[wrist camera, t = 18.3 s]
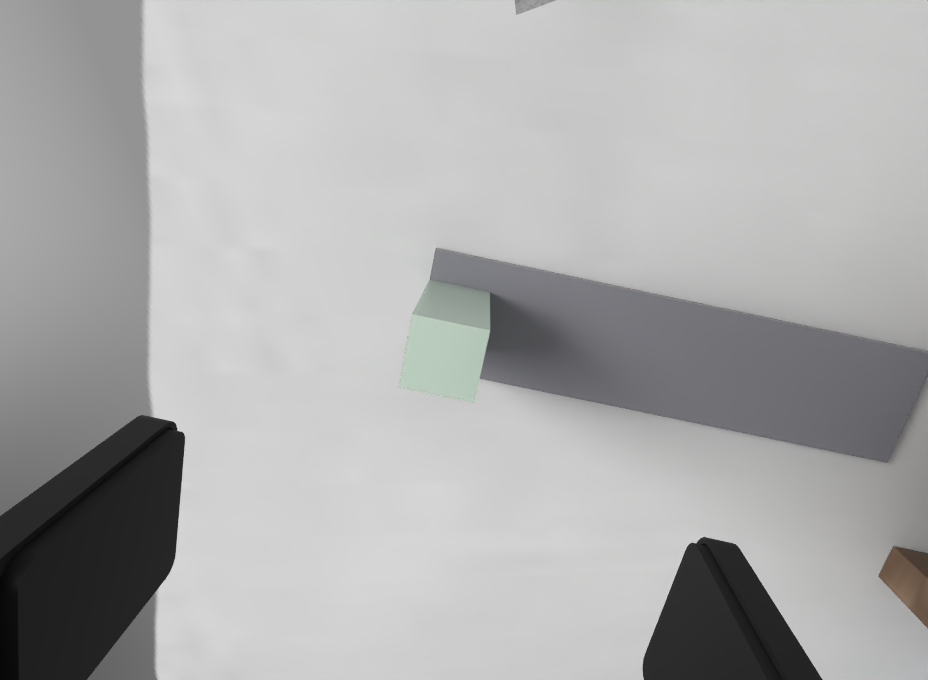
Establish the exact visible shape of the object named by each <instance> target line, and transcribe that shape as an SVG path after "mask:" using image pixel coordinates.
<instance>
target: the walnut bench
mask: <svg viewBox="0 0 928 680" xmlns="http://www.w3.org/2000/svg"><path fill="white" fill-rule="evenodd" d="M879 577H880V578H881V579H882V580H883V582H884V583H885V584H886V585H887V586H888V587H889V588H890V589H891V590H892V591H893V592H894V593H895V594H896V595H897V596H898V597H899V598H900V599H901V601H902V602H903V603H904V604H905V605H906V606H907V607H908V608H909V609H910V610H911V611H912V612H913V613H914V614H915V615H916V616H917V617H918V619H919V620H920V621H921V622H922V623H923V624H924V625H925V626H926V627H927V628H928V554H926V553H922V552H917V551H913V550H908V549H903V548H899V547H894V546H893V548H892V550H891V552H890V554H889V556H888V558H887V560H886V562H885V564H884V566H883V568H882V570H881V572H880V574H879Z"/></svg>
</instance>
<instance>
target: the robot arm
mask: <svg viewBox="0 0 928 680" xmlns="http://www.w3.org/2000/svg"><path fill="white" fill-rule="evenodd" d="M184 445H185V436H184V433H183V432H179V431H177V427H176V424H175V423H174V422H172V421H167V420H163V419H158V418H153V417H149V416H143V415H141V416H139V417H136V418H135V419H134V420H133V421H131V422H130V423H128V424H127V425H125V426H124V427H123V428H122V429H120V430H119V431H117V432H116V433H114V434H113V435H112V436H110V437H109V438H108V439H106V440H105V441H103V442H102V443H101V444H99V445H98V446H96V447H95V448H94V449H92V450H91V451H90V452H88V453H87V454H85V455H84V456H83V457H81V458H80V459H79V460H77V461H76V462H74V463H73V464H72V465H70V466H69V467H68V468H66V469H65V470H63V471H62V472H61V473H59V474H58V475H56V476H55V477H54V478H52V479H51V480H50V481H48V482H47V483H46V484H44V485H43V486H41V487H40V488H39V489H37V490H36V491H34V492H33V493H32V494H30V495H29V496H28V497H26V498H25V499H23V500H22V501H21V502H19V503H18V504H16V505H15V506H14V507H12V508H11V509H10V510H8V511H7V512H5V513H4V514H3V515H1V516H0V680H87V679H88V677H89V676H90V675H91V674H92V672H93V671H94V670H95V668H96V667H97V666H98V665H99V663H100V662H101V661H102V660H103V658H104V657H105V656H106V654H107V653H108V652H109V651H110V649H111V648H112V647H113V645H114V644H115V643H116V642H117V640H118V639H119V638H120V636H121V635H122V634H123V633H124V631H125V630H126V629H127V627H128V626H129V625H130V624H131V622H132V621H133V620H134V619H135V617H136V616H137V615H138V613H139V612H140V611H141V609H142V608H143V607H144V606H145V604H146V603H147V602H148V601H149V599H150V598H151V597H152V595H153V594H154V593H155V592H156V590H157V589H158V588H159V586H160V585H161V584H162V583H163V581H164V580H165V579H166V577H167V576H168V574H169V572H170V570H171V568H172V566H173V563H174V559H175V553H176V541H177V529H178V517H179V505H180V493H181V481H182V469H183V457H184ZM643 677H644V680H822V678H821V677H820V675H819V674H818V672H817V670H816V669H815V667H814V666H813V664H812V662H811V661H810V659H809V658H808V656H807V655H806V653H805V651H804V650H803V648H802V647H801V645H800V644H799V642H798V640H797V639H796V637H795V636H794V634H793V632H792V631H791V629H790V628H789V626H788V625H787V623H786V621H785V620H784V618H783V617H782V615H781V613H780V612H779V610H778V609H777V607H776V606H775V604H774V602H773V601H772V599H771V598H770V596H769V594H768V593H767V591H766V590H765V588H764V587H763V585H762V583H761V582H760V580H759V579H758V577H757V575H756V574H755V572H754V571H753V569H752V568H751V566H750V564H749V563H748V561H747V560H746V558H745V556H744V555H743V553H742V552H741V550H740V549H739V547H738V546H737V545H736V544H733V543H729V542H724V541H719V540H715V539H710V538H706V537H703V538H701V539H700V540H699V541H698V542H697V544H696V543H691V544H689V545H688V547H687V549H686V551H685V553H684V556H683V558H682V561H681V563H680V566H679V569H678V571H677V574H676V576H675V579H674V581H673V584H672V587H671V589H670V592H669V594H668V597H667V599H666V602H665V605H664V607H663V610H662V612H661V615H660V617H659V620H658V622H657V625H656V628H655V630H654V633H653V635H652V638H651V640H650V643H649V646H648V648H647V651H646V653H645V656H644V661H643Z"/></svg>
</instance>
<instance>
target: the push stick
mask: <svg viewBox="0 0 928 680" xmlns="http://www.w3.org/2000/svg"><path fill="white" fill-rule="evenodd" d="M927 374H928V351H924V350H919V349H915V348H910V347H905V346H900V345H896V344H891V343H886V342H881V341H877V340H872V339H867V338H862V337H858V336H853V335H848V334H843V333H839V332H834V331H829V330H824V329H819V328H815V327H810V326H805V325H800V324H796V323H791V322H786V321H781V320H777V319H772V318H767V317H762V316H758V315H753V314H748V313H743V312H739V311H734V310H729V309H724V308H720V307H715V306H710V305H705V304H701V303H696V302H691V301H686V300H682V299H677V298H672V297H667V296H662V295H658V294H653V293H648V292H643V291H639V290H634V289H629V288H624V287H620V286H615V285H610V284H605V283H601V282H596V281H591V280H586V279H582V278H577V277H572V276H567V275H563V274H558V273H553V272H548V271H544V270H539V269H534V268H529V267H524V266H520V265H515V264H510V263H505V262H501V261H496V260H491V259H486V258H482V257H477V256H472V255H467V254H463V253H458V252H453V251H448V250H444V249H439V248H436V249H435V255H434V260H433V265H432V271H431V276H430V280H429V282H428V284H427V286H426V288H425V290H424V292H423V294H422V296H421V298H420V300H419V302H418V304H417V306H416V308H415V309H414V311H413V313H412V317H411V323H410V328H409V334H408V339H407V344H406V350H405V355H404V361H403V366H402V372H401V377H400V382H399V388H404V389H409V390H414V391H419V392H423V393H428V394H433V395H438V396H443V397H448V398H453V399H458V400H462V401H467V402H472V403H474V400H475V396H476V392H477V387H478V383H479V378H480V379H485V380H489V381H494V382H499V383H504V384H509V385H514V386H519V387H523V388H528V389H533V390H538V391H543V392H548V393H553V394H557V395H562V396H567V397H572V398H577V399H582V400H587V401H591V402H596V403H601V404H606V405H611V406H616V407H620V408H625V409H630V410H635V411H640V412H645V413H650V414H654V415H659V416H664V417H669V418H674V419H679V420H684V421H688V422H693V423H698V424H703V425H708V426H713V427H718V428H722V429H727V430H732V431H737V432H742V433H747V434H751V435H756V436H761V437H766V438H771V439H776V440H781V441H785V442H790V443H795V444H800V445H805V446H810V447H815V448H819V449H824V450H829V451H834V452H839V453H844V454H849V455H853V456H858V457H863V458H868V459H873V460H878V461H882V462H887V461H888V459H889V457H890V454H891V452H892V450H893V448H894V446H895V443H896V441H897V439H898V437H899V435H900V433H901V430H902V428H903V426H904V424H905V422H906V420H907V417H908V415H909V413H910V411H911V409H912V407H913V404H914V402H915V400H916V398H917V396H918V393H919V391H920V389H921V387H922V385H923V383H924V380H925V378H926V376H927Z"/></svg>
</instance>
